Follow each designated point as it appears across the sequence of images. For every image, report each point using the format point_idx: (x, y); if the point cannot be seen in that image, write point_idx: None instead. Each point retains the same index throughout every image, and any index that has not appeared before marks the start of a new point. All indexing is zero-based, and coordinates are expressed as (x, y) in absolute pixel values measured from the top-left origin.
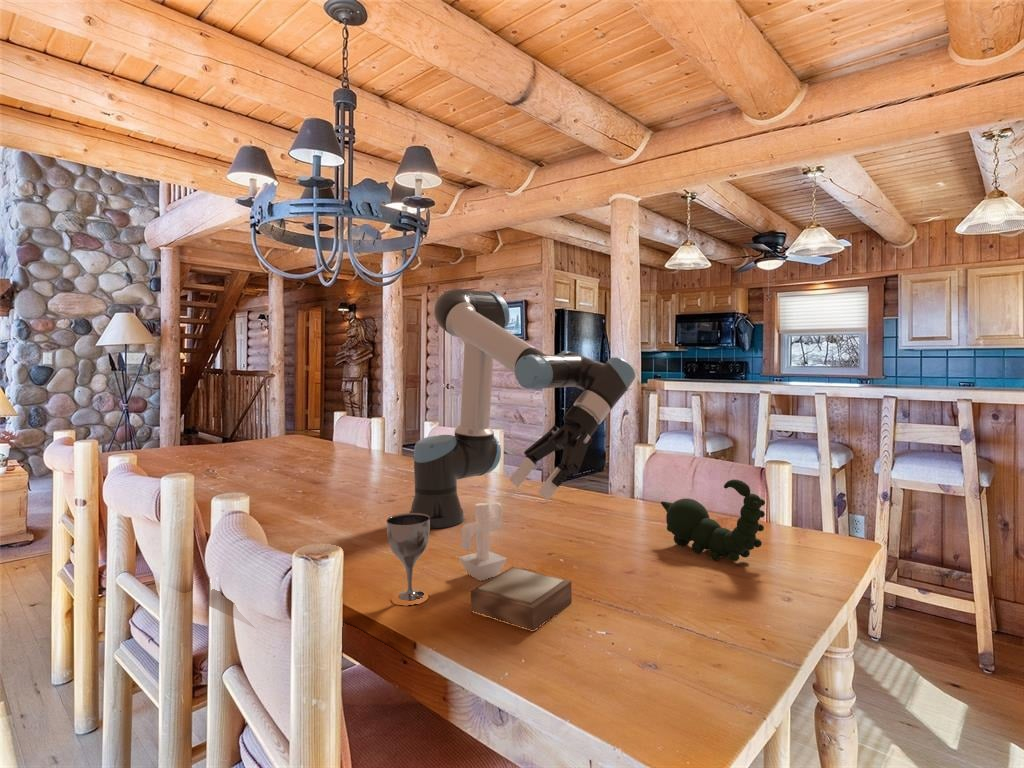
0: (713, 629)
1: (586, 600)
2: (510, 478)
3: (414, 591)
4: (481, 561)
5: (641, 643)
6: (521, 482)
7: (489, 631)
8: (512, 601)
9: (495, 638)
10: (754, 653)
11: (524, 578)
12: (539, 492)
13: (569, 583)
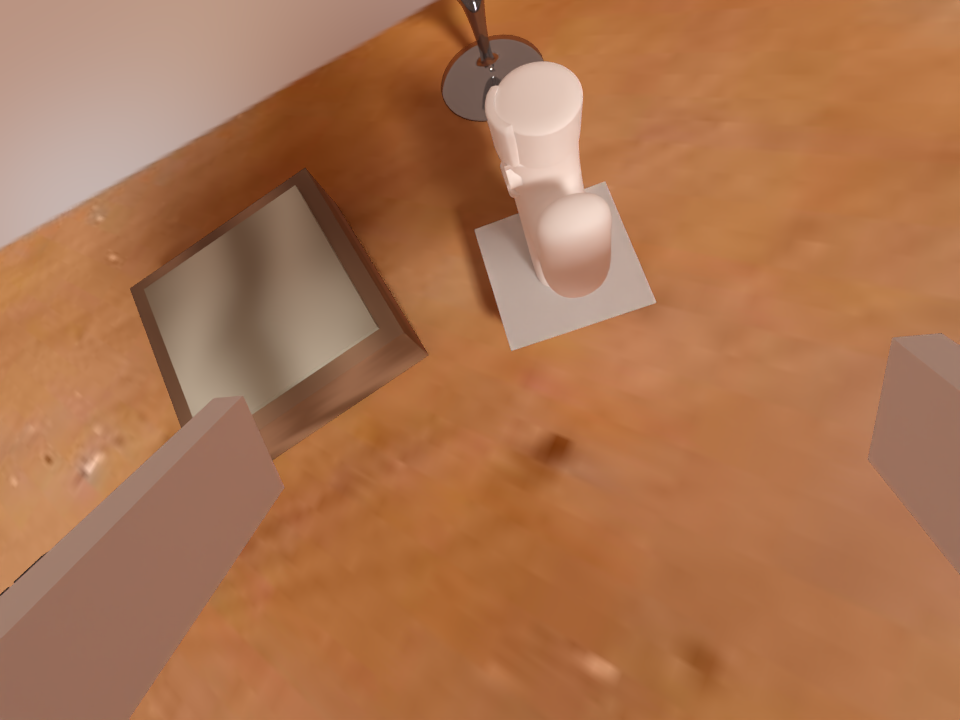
0: None
1: None
2: (926, 343)
3: (494, 77)
4: (524, 250)
5: (10, 522)
6: (906, 503)
7: None
8: (186, 252)
9: (205, 229)
10: None
11: (281, 328)
12: (214, 401)
13: None
